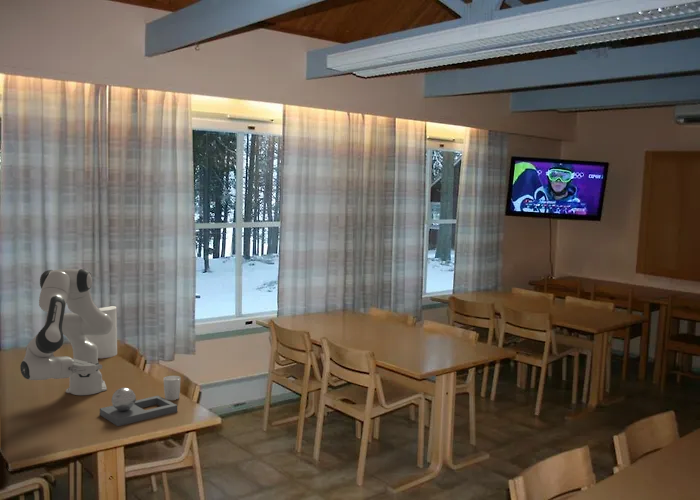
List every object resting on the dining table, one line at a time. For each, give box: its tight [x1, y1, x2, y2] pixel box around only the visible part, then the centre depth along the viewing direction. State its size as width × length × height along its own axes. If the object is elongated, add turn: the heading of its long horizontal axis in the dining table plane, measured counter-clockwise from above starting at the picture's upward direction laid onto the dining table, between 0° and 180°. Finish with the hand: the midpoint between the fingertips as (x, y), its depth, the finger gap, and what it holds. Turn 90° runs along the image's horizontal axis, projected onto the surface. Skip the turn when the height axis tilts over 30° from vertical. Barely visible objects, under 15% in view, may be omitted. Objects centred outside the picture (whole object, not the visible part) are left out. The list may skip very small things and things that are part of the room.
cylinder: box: [86, 305, 118, 359], centre depth 396 cm, size 17×17×28 cm
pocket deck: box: [99, 395, 178, 427], centre depth 300 cm, size 28×18×3 cm, turn 134°
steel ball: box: [111, 387, 137, 411], centre depth 295 cm, size 10×10×10 cm
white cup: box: [163, 375, 181, 401], centre depth 321 cm, size 8×8×10 cm
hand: (96, 365), depth 285 cm, fingers open, 8 cm apart
